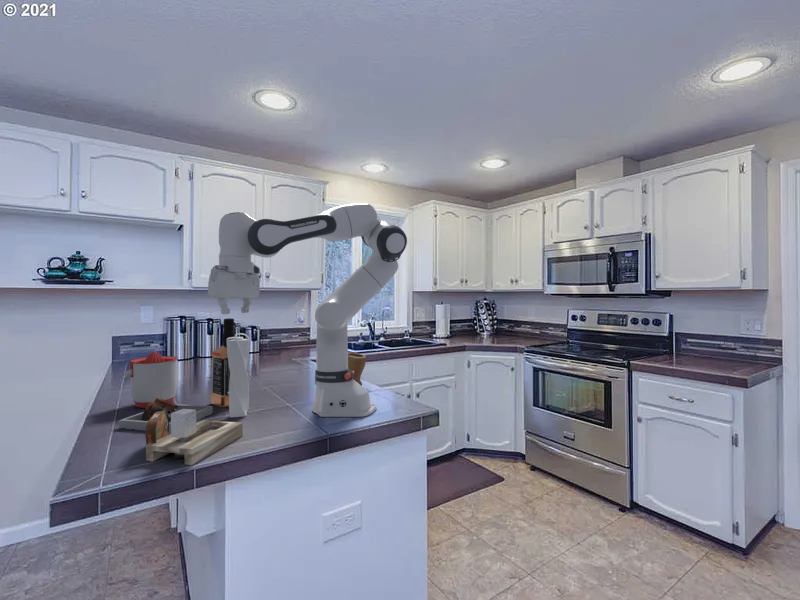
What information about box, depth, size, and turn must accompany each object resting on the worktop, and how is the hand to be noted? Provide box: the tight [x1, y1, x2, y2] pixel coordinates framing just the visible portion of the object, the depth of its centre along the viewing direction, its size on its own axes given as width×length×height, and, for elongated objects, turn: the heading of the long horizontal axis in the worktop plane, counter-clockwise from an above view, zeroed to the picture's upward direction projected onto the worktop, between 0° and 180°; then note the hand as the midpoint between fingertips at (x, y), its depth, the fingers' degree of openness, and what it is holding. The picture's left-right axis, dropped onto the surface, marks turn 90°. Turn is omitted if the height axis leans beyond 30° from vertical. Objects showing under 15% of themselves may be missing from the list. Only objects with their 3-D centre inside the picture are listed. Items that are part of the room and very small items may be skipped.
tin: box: [144, 410, 170, 446], centre depth 104 cm, size 15×3×8 cm, turn 20°
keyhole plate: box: [145, 419, 244, 466], centre depth 105 cm, size 13×20×4 cm, turn 168°
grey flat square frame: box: [118, 403, 213, 433], centre depth 128 cm, size 18×19×2 cm
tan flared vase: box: [348, 352, 367, 387], centre depth 174 cm, size 15×12×15 cm
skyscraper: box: [227, 332, 251, 418], centre depth 133 cm, size 8×8×28 cm
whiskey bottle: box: [210, 317, 236, 408], centre depth 149 cm, size 10×10×32 cm
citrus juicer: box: [123, 351, 179, 409], centre depth 147 cm, size 16×17×20 cm
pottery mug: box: [141, 398, 178, 421], centre depth 127 cm, size 12×10×8 cm
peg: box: [170, 409, 197, 459], centre depth 100 cm, size 4×4×11 cm
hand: (235, 313), depth 118 cm, fingers open, 8 cm apart
